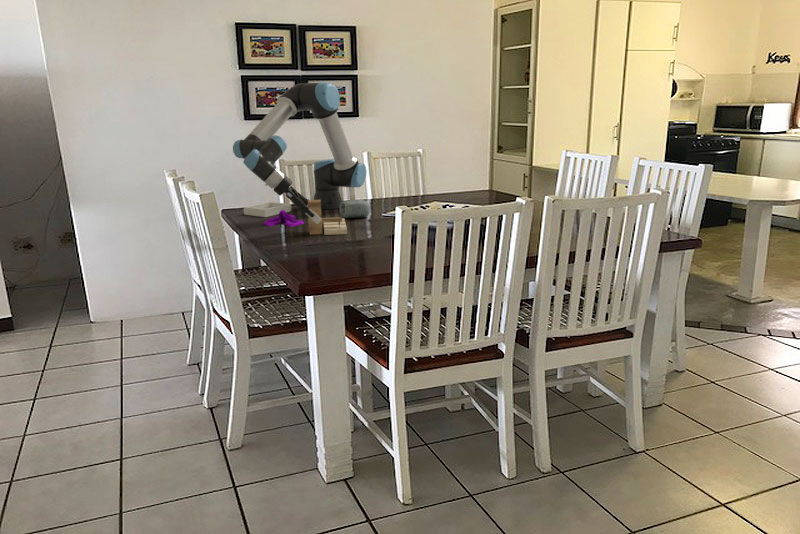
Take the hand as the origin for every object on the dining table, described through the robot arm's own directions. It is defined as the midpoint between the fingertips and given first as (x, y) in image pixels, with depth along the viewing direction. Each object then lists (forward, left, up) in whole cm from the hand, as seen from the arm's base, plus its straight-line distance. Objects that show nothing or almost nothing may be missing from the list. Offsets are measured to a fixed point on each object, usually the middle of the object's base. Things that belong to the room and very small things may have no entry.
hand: (319, 218), depth 252 cm
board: (-9, 0, -6) cm, 11 cm away
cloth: (-10, -29, -7) cm, 31 cm away
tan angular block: (-2, +2, -6) cm, 6 cm away
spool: (-33, -8, -6) cm, 34 cm away
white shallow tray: (-22, -52, -6) cm, 57 cm away
